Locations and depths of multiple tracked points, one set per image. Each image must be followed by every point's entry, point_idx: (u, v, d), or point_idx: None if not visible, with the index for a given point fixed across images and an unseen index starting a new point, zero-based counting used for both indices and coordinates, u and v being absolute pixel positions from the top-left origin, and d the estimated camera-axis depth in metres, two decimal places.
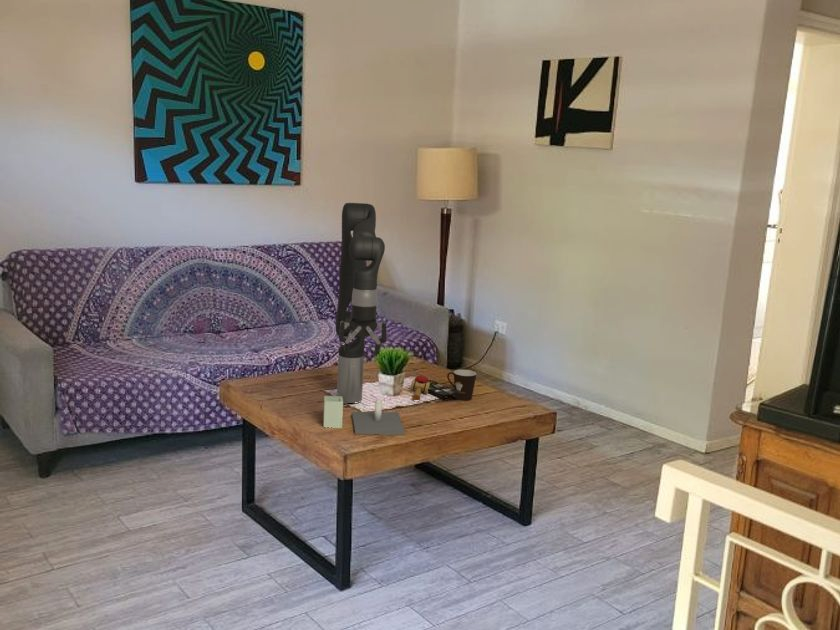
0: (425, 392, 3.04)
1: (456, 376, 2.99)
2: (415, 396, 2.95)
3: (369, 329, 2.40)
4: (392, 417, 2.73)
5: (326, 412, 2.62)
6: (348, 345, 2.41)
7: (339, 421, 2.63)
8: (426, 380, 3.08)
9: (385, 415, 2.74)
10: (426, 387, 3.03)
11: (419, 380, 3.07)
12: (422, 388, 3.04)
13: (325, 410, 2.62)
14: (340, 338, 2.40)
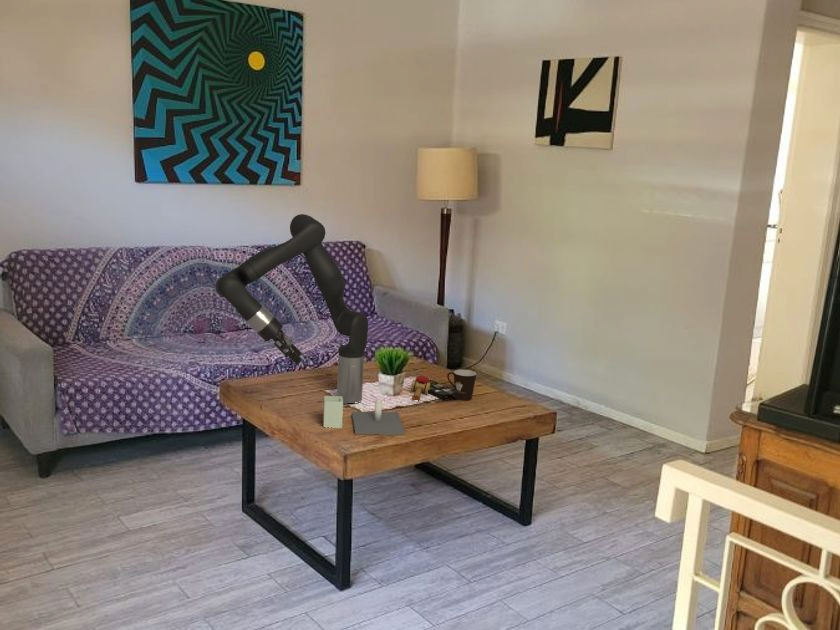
0: (425, 392, 3.03)
1: (456, 376, 2.99)
2: (415, 396, 2.95)
3: None
4: (392, 417, 2.73)
5: (326, 412, 2.62)
6: None
7: (339, 421, 2.63)
8: (427, 380, 3.08)
9: (385, 415, 2.74)
10: (426, 387, 3.03)
11: (420, 380, 3.07)
12: (422, 388, 3.04)
13: (325, 410, 2.62)
14: None
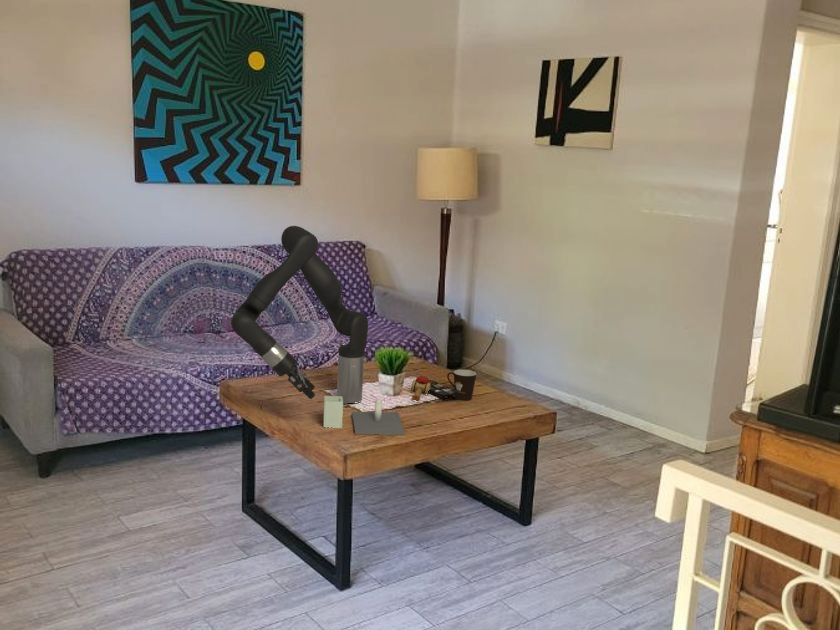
0: (425, 393, 3.03)
1: (456, 376, 2.99)
2: (415, 397, 2.95)
3: None
4: (392, 417, 2.73)
5: (326, 412, 2.62)
6: None
7: (339, 421, 2.63)
8: (427, 381, 3.07)
9: (385, 415, 2.74)
10: (426, 388, 3.02)
11: (420, 381, 3.06)
12: (423, 389, 3.03)
13: (325, 410, 2.62)
14: None
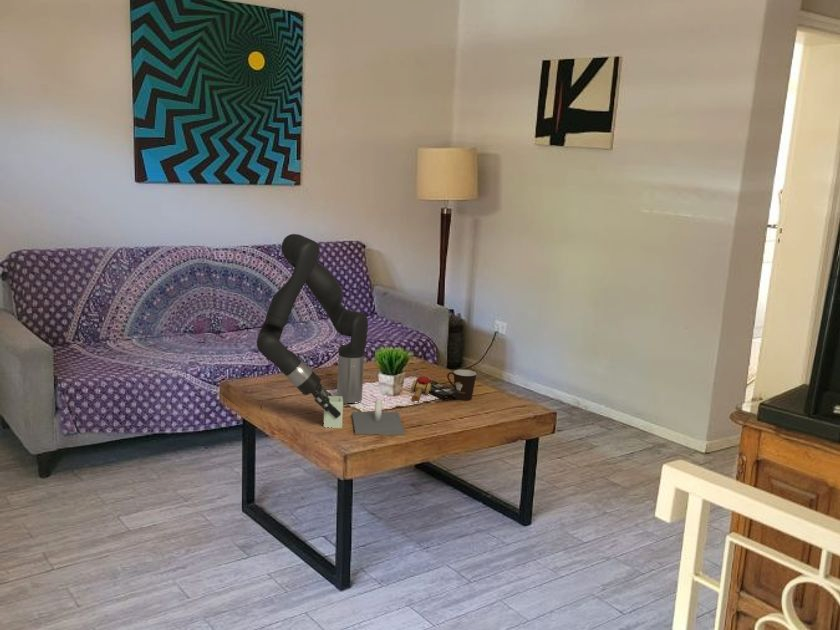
0: (426, 393, 3.02)
1: (456, 376, 2.99)
2: (414, 397, 2.95)
3: None
4: (392, 417, 2.73)
5: (326, 412, 2.62)
6: None
7: (339, 421, 2.63)
8: (428, 381, 3.07)
9: (385, 415, 2.74)
10: (427, 388, 3.02)
11: (421, 381, 3.06)
12: (423, 389, 3.03)
13: None
14: None
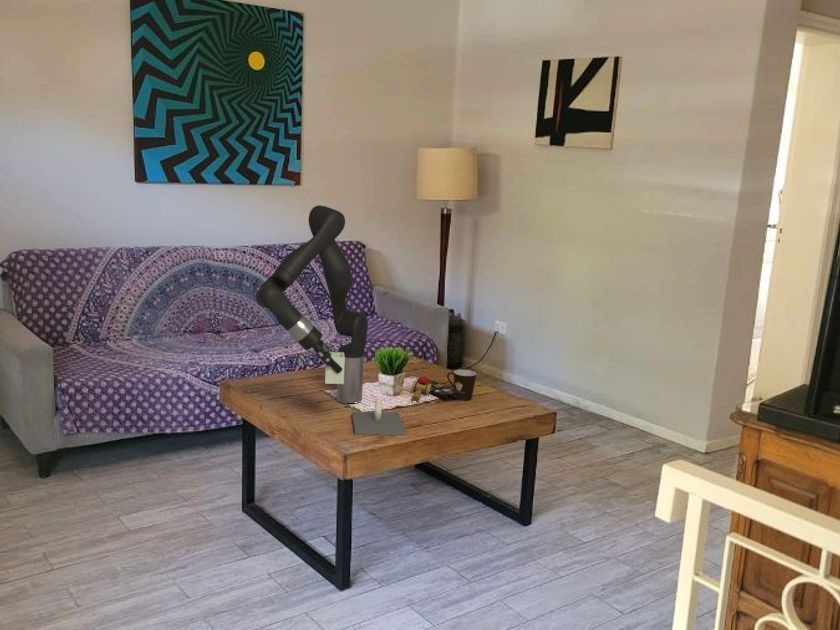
0: (426, 394, 3.02)
1: (456, 376, 2.99)
2: (414, 397, 2.94)
3: None
4: (392, 417, 2.73)
5: (328, 367, 2.59)
6: None
7: (340, 376, 2.60)
8: (428, 382, 3.06)
9: (385, 415, 2.74)
10: (427, 389, 3.01)
11: (421, 381, 3.06)
12: (423, 389, 3.03)
13: (326, 365, 2.59)
14: None
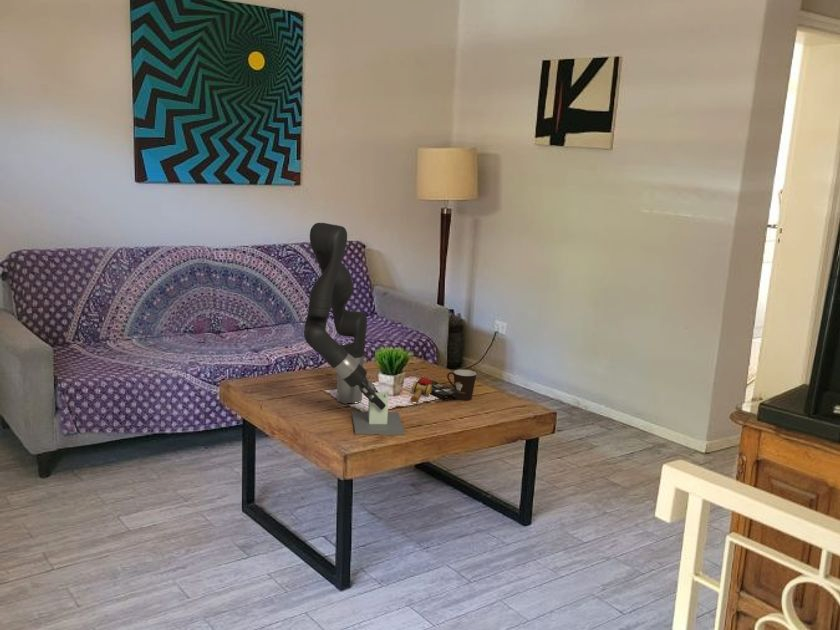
0: (426, 394, 3.01)
1: (456, 376, 2.99)
2: (413, 398, 2.93)
3: None
4: (392, 417, 2.73)
5: (372, 408, 2.64)
6: None
7: (384, 417, 2.65)
8: (429, 382, 3.05)
9: None
10: (427, 389, 3.01)
11: (421, 382, 3.05)
12: (423, 390, 3.02)
13: (371, 406, 2.64)
14: None
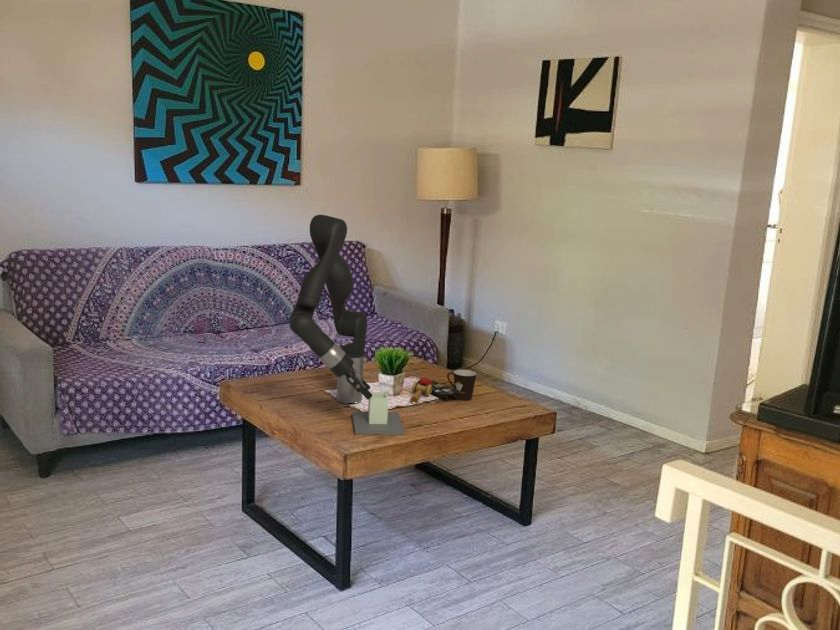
0: (426, 395, 3.01)
1: (456, 376, 2.99)
2: (413, 398, 2.93)
3: None
4: (392, 417, 2.73)
5: (372, 408, 2.64)
6: None
7: (384, 417, 2.65)
8: (429, 383, 3.05)
9: None
10: (427, 390, 3.00)
11: (422, 382, 3.05)
12: (423, 390, 3.01)
13: (371, 406, 2.64)
14: None
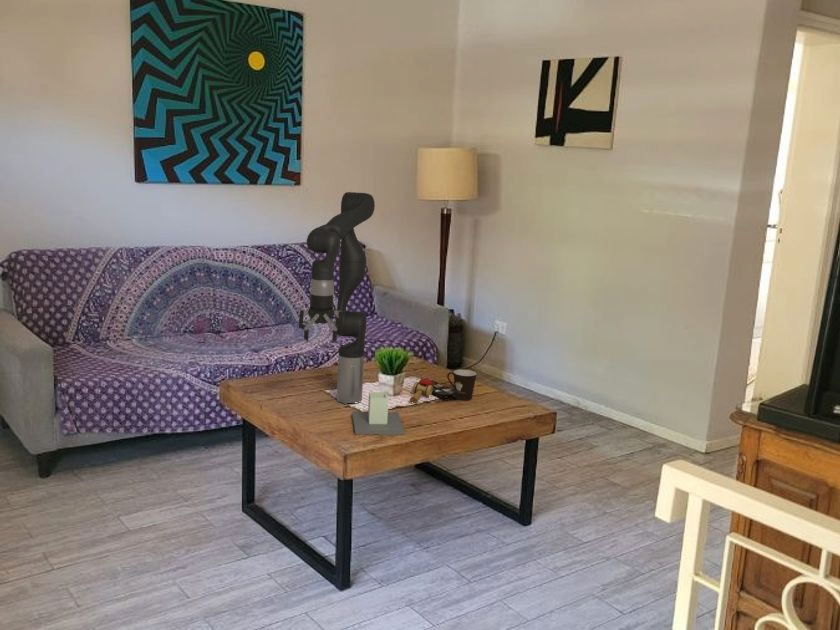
0: (426, 395, 3.00)
1: (456, 376, 2.99)
2: (412, 398, 2.93)
3: (326, 317, 2.58)
4: (392, 417, 2.73)
5: (372, 408, 2.64)
6: (307, 331, 2.59)
7: (384, 417, 2.65)
8: (430, 383, 3.04)
9: None
10: (427, 390, 3.00)
11: (422, 383, 3.04)
12: (424, 391, 3.01)
13: (371, 406, 2.64)
14: (299, 325, 2.58)
